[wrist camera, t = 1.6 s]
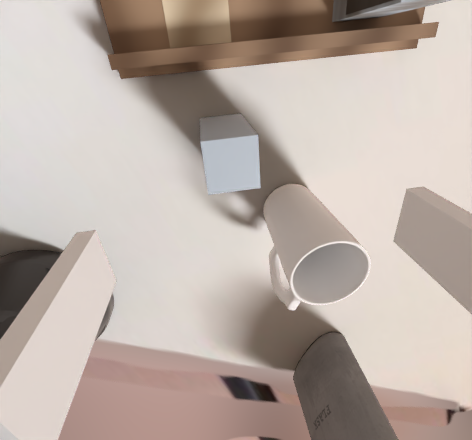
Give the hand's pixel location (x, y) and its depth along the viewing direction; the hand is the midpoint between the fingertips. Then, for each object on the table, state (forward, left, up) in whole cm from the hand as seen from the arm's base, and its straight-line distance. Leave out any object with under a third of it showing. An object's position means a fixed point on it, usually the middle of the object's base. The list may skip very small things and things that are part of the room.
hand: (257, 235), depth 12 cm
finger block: (0, 0, -18) cm, 18 cm away
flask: (+12, -41, -18) cm, 46 cm away
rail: (+5, +10, -18) cm, 22 cm away
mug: (+6, -11, -18) cm, 22 cm away
